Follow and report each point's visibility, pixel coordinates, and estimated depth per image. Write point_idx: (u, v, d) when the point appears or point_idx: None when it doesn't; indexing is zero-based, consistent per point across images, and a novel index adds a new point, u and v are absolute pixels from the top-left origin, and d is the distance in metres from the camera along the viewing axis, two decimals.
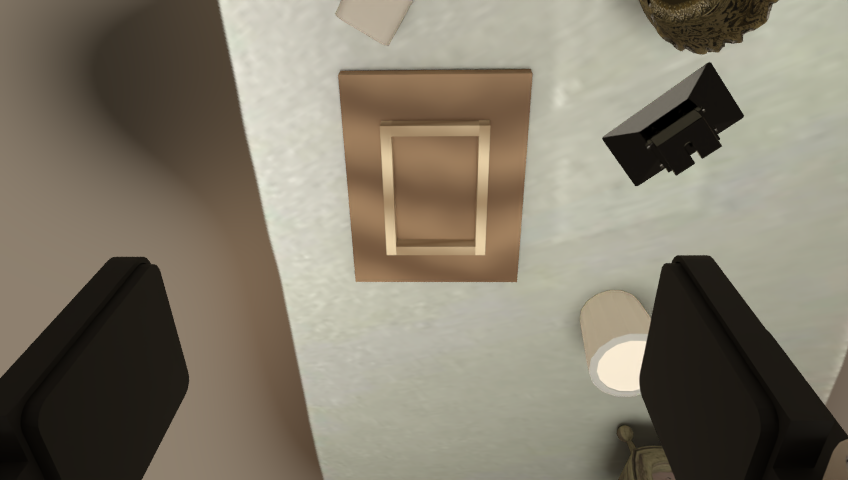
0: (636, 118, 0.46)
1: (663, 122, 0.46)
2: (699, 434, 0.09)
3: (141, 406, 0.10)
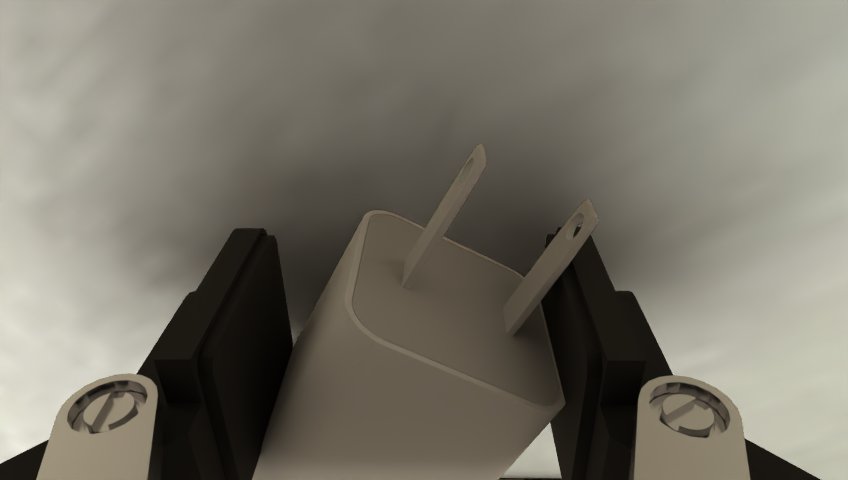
0: None
1: None
2: (561, 385, 0.10)
3: (267, 365, 0.11)
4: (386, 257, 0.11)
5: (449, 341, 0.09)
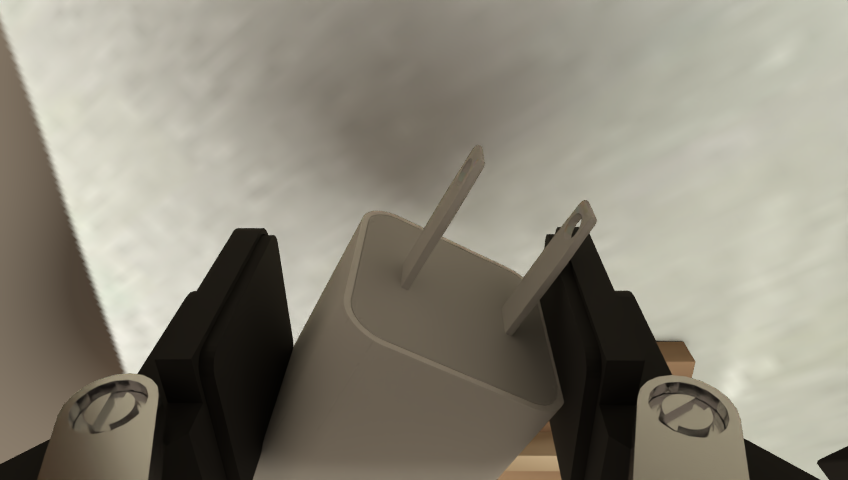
0: None
1: None
2: (561, 385, 0.10)
3: (267, 364, 0.11)
4: (385, 258, 0.11)
5: (448, 342, 0.10)
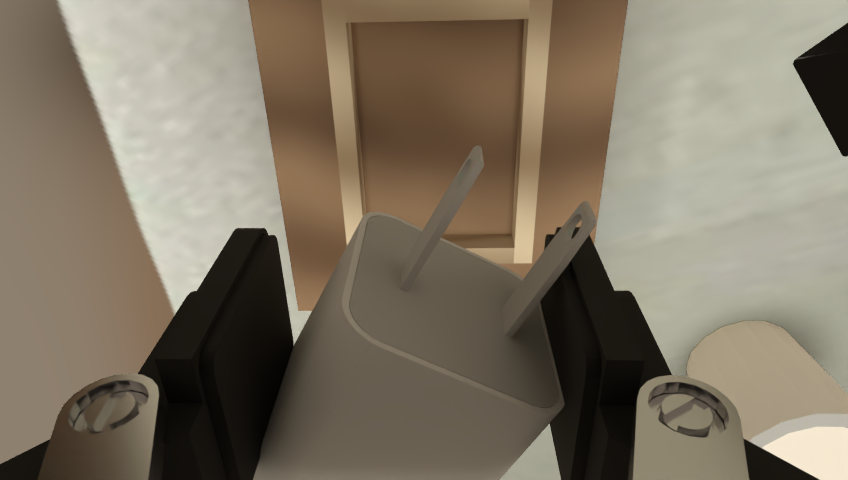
0: None
1: None
2: (561, 384, 0.10)
3: (267, 364, 0.11)
4: (384, 258, 0.11)
5: (447, 344, 0.09)
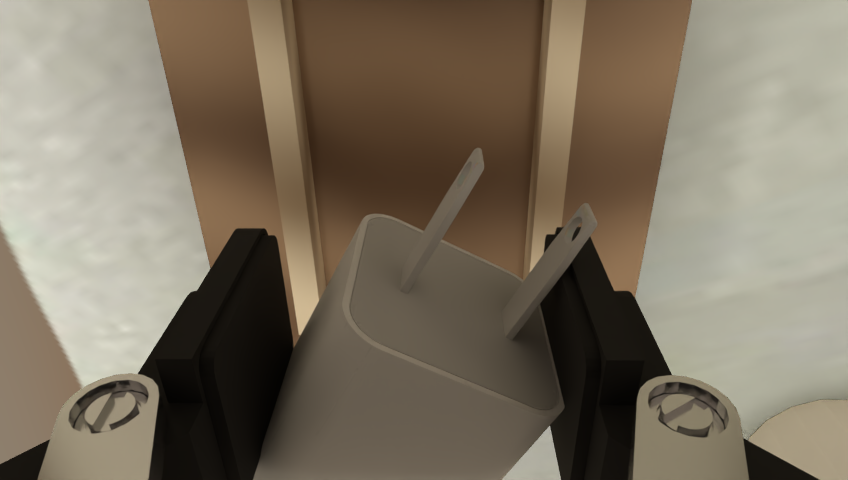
0: None
1: None
2: (561, 384, 0.10)
3: (268, 364, 0.11)
4: (384, 261, 0.11)
5: (447, 346, 0.09)
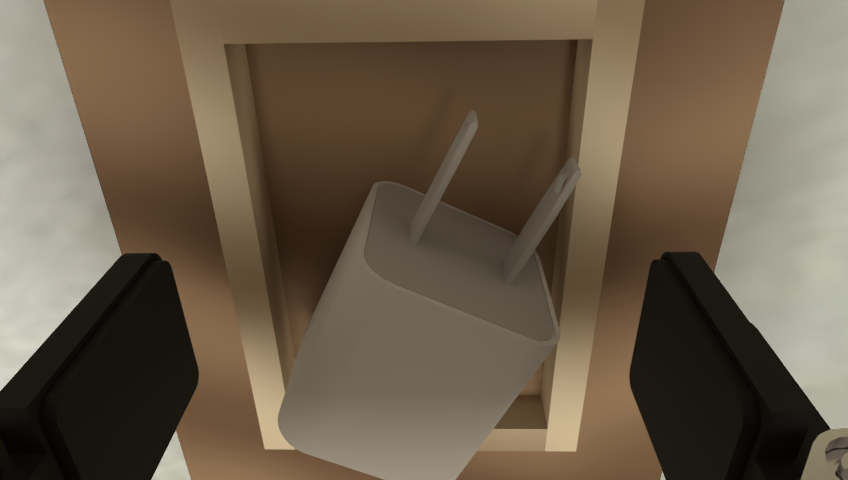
0: None
1: None
2: (685, 427, 0.09)
3: (153, 400, 0.10)
4: (394, 219, 0.12)
5: (452, 288, 0.11)
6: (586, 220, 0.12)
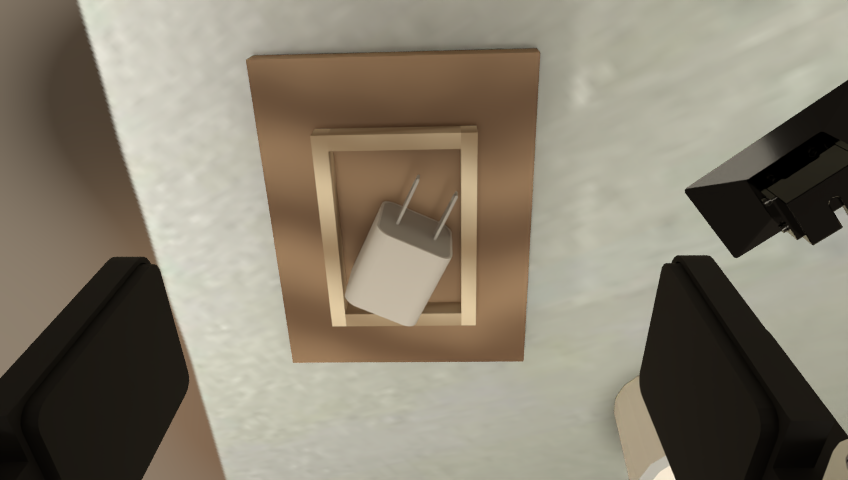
0: (742, 160, 0.32)
1: (784, 166, 0.31)
2: (699, 434, 0.09)
3: (141, 406, 0.10)
4: (390, 215, 0.30)
5: (411, 238, 0.29)
6: (466, 215, 0.31)
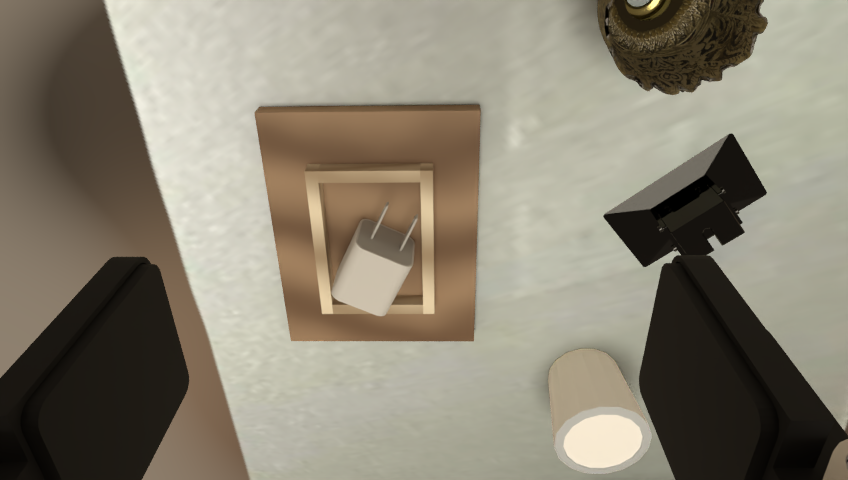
0: (646, 194, 0.41)
1: (677, 200, 0.40)
2: (699, 434, 0.09)
3: (141, 406, 0.10)
4: (366, 231, 0.40)
5: (381, 251, 0.38)
6: (425, 231, 0.40)
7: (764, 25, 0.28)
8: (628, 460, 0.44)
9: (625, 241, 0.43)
